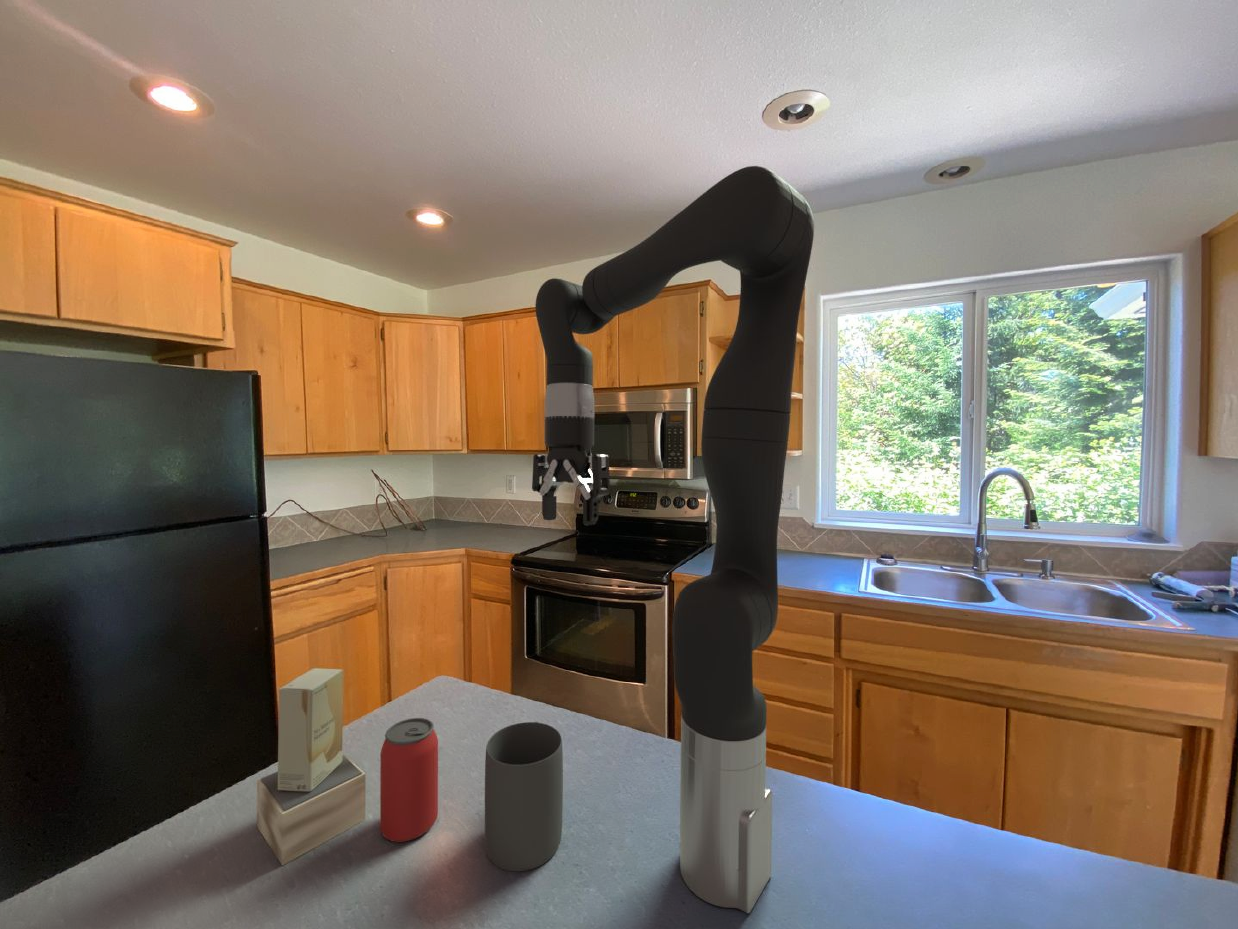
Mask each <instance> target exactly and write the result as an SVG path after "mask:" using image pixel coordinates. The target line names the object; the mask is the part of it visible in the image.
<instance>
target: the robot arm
mask: <svg viewBox="0 0 1238 929" xmlns="http://www.w3.org/2000/svg"><path fill="white" fill-rule="evenodd" d="M814 237H815V220H814V214H813V212H812V208H811V207H810V204H809V202H808V201H807V199H806V198H805V197H804V196H803V195H802V194H801V193H800V192H798V191H797V190H796V189H795V188H794V187H792V186H791V185H790V184H789V183H788V182H786V180H784V179H783V178H782V177H781V176H779V175H778V174H776V173H775V172H774V171H773V170H770V169H768V168H767V167H763V166H759V165H749V166H745V167H742V168H740V169H737V170H736V171H733V172H732V173H730V174H728V175H727V176H725V177H724V178H722V179H721V180H719V181H717V182H716V183H715V184H714V185H712V186H711V187H710V188H708V189H707V190H706V191H705V192H703V193H702V194H701V195H700V196H698V197H697V198H696V199H695V200H693V201H692V202H691V203H690V204H688V205H687V206H686V207H684V209H682V210H681V211H680V212H678V213H677V214H676V215H675V216H673V217H671V219H669V220H668V221H667V222H665V223H664V224H663V225H662V226H661V227H660V228H659V229H657V230H656V231H655V232H653V233H652V234H650V235H649V236H648V237H647V238H645V239H644V240H643V241H641V242H640V243H638V244H636V245H635V246H633V247H632V248H630V249H628V250H626V251H624V252H623V253H621V254H619V255H617V256H614V257H613V258H611V259H609V260H607V261H605V262H602V264H599V265H596V267H594V268H592V269H591V270H589V272H587V274H586V275H585V277H584V278H583V281H582V285H580V284H576V283H574V282H571V281H567V280H565V279H562V278H557V277H556V278H550V279H547V280H546V281H545V282H544V283H542V284H541V286H540V288H539V289H538V292H537V294H536V298H535V309H534V310H535V316H536V321H537V325H538V329H539V334H540V337H541V341H542V344H543V349H544V352H545V353H544V354H545V358H546V391H545V397H544V445H545V446H546V447H548V454H547V453H535V454H534V455H533V459H532V460H533V461H532V479H531V480H532V482H531V483H532V484H531V490H532V491H533V492H538V493H539V495H540V496H541V498H542V499H541V514H542V516H543V520H544V521H554V520H556V519H557V502H558V501H557V498H558V496H557V495H556V493H557V492H558V490H559V488H560V487H561V486H562V485H564V484H565V483H569V484H574V486H575V487H577V489H579V491H580V492H581V494H582V497H583V498H584V499H583V501H582V503H583V504H582V511H583V512H582V523H583V525H585V526H592V525H596V524H597V521H598V519H599V500H600V498H602V497H604V496H608V495H609V494H610V492H611V480H610V475H611V474H610V457H609V455H608V454H606V453H593V454H592V447H594V445H595V395H594V387H593V386H594V358H593V354H592V352H591V351H590V349H588V348H586V347H585V346H584V345H582V344H580V343H579V342H577V341H576V338H575V337H574V334H577V335H589V334H593V333H597V332H598V331H600V330H601V329H602V328H604V327H605V326H607V324H609V323H610V322H611V321H612V320H613V319H614V318H616V316H619V315H622V314H625V313H627V312H630V311H632V310H635V309H637V308H640V307H642V306H644V305H647V304H648V303H650V302H651V301H653V300H654V299H655V298H657V297H658V296H659V295H660V294H661V293H662V291H663V290H664V289H665V288H666V286H667V285H668V283H669V282H670V281H671V279H672V278H674V277H675V276H676V275H677V274H679V273H680V272H683V271H684V270H687V269H689V268H692V267H695V266H699V265H702V264H703V265H704V264H708V263H712V262H713V263H714V262H719V261H720V262H722V263H724V264H726V265H727V266H730V267H731V268H733V269H735V270H737V271H738V272H739V275H740V293H739V294H740V296H739V305H738V306H739V307H738V315H737V321H736V324H735V325H736V326H735V331H734V332H733V335H732V338H731V340H730V342H729V345H728V346H727V348H726V350H725V351H724V354H723V355H722V356H721V359H720V360H719V362H718V364H717V366H716V369H715V370H714V372H713V374H712V376H711V378H710V381H709V382H708V386H707V389H706V392H705V397H704V404H703V413H702V428H701V438H700V439H701V441H700V442H701V444H700V445H701V448H700V449H701V462H702V467H703V472H704V476H705V480H706V484H707V486H708V490H709V493H710V496H711V501H712V503H713V507H714V513H715V523H716V531H715V532H716V533H715V534H716V535H715V546H714V555H713V559H712V565H711V566H712V567H711V571H710V574H708V575H705V576H703V577H700V578H698V579H695V580H693V581H691V582H689V583H688V584H687V585H685V586H684V587H683V588H682V589H681V590H680V592H679V594H678V595H677V597H676V601H675V604H674V608H673V615H672V653H673V655H672V656H673V676H674V678H673V679H674V686H675V690H676V693H677V696H678V699H679V701H680V708H681V713H680V714H681V715H680V718H681V719H680V720H681V721H680V793H679V796H680V800H679V803H680V804H679V839H680V840H679V869H680V875H681V877H682V879H683V881H684V884H686V886H687V887H688V889H689V890H690V892H691V891H692V893H693V894H695V896H696V897H698V898H700V899H702V900H703V901H704V902H706V903H709V904H711V905H713V906H716V907H721V908H731V909H733V908H735V909H739V910H740V911H743V912H744V913H746V914H750V913H751V911H752V909H753V907H754V906H755V904H756V903H757V901H758V899H759V898H760V895H761V894H762V893H763V891H764V889H765V888H766V885H767V884H768V882H769V880H770V879H771V877H772V859H773V858H772V853H773V851H772V849H773V848H772V845H773V791H772V790H771V789H770V788H768V787H766V781H767V780H766V773H767V771H766V770H767V769H766V768H767V766H766V765H767V761H766V760H767V711H768V710H767V701H766V698H765V696H764V695H763V693H762V692H761V691H760V690H759V689H758V687H756V686H755V685H754V679H753V678H754V673H753V671H754V670H753V652H754V651H755V650H757V649H758V648H760V647H761V646H762V645H763V644H764V643H765V642H766V641H767V640H769V638H770V636H771V635H772V633H773V632H774V629H775V627H776V624H777V620H778V614H779V612H778V611H779V588H778V586H779V583H778V529H779V520H780V512H781V506H782V498H783V488H784V476H785V468H786V460H787V454H788V453H787V452H788V445H789V443H788V442H789V436H790V424H791V411H792V393H793V392H792V390H793V382H794V370H795V362H796V348H797V337H798V335H797V334H798V324H799V320H800V319H799V318H800V312H801V306H802V300H803V296H804V291H805V286H806V285H805V284H806V280H807V276H808V271H809V267H810V266H809V265H810V261H811V255H812V249H813V244H814V243H813V242H814ZM540 479H541V481H540ZM540 482H541V483H540Z"/></svg>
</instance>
